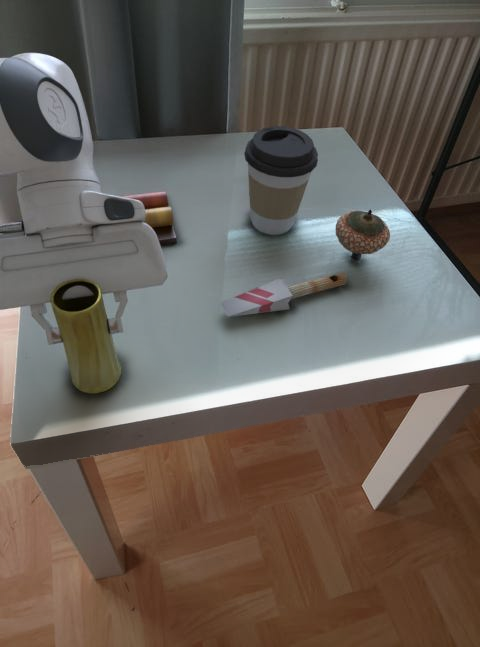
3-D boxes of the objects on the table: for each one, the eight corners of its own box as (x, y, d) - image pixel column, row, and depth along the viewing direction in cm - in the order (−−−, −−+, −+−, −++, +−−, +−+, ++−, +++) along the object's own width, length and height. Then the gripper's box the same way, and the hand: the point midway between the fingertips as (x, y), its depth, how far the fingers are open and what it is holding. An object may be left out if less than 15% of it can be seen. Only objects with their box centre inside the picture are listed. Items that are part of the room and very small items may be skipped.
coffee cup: (279, 195, 92) (291, 116, 80) (318, 230, 86) (336, 150, 74) (226, 213, 87) (230, 131, 76) (263, 251, 81) (274, 169, 70)
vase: (62, 371, 64) (35, 291, 53) (104, 347, 66) (86, 267, 56) (87, 403, 61) (64, 326, 50) (130, 376, 64) (117, 298, 53)
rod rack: (87, 254, 78) (83, 234, 75) (81, 208, 85) (76, 188, 82) (176, 242, 81) (176, 222, 78) (162, 199, 89) (161, 179, 86)
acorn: (318, 252, 82) (330, 201, 74) (356, 237, 85) (371, 186, 78) (351, 284, 78) (367, 232, 70) (390, 266, 81) (409, 215, 73)
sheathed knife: (219, 292, 70) (339, 264, 77) (217, 306, 72) (335, 277, 79) (230, 311, 68) (353, 280, 75) (228, 325, 70) (348, 294, 77)
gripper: (-46, 224, 51) (-18, 358, 52) (157, 200, 55) (177, 324, 57) (-29, 231, 57) (-5, 351, 58) (152, 210, 61) (171, 321, 63)
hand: (87, 338), depth 57 cm, fingers closed on vase, 5 cm apart
